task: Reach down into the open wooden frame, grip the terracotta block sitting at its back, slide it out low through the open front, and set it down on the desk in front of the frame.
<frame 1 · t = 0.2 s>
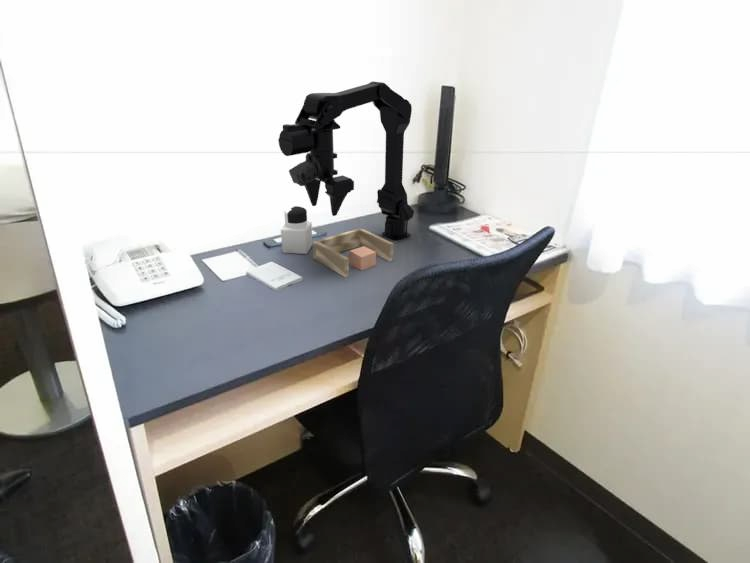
hand: (324, 210, 124), 14 cm above the table, tool pointing down, fingers open, 9 cm apart
terracotta block: (362, 265, 129), on the table
external hard drive: (274, 279, 122), on the table
medicine bottle: (297, 249, 137), on the table
open wooden frame: (362, 264, 129), on the table
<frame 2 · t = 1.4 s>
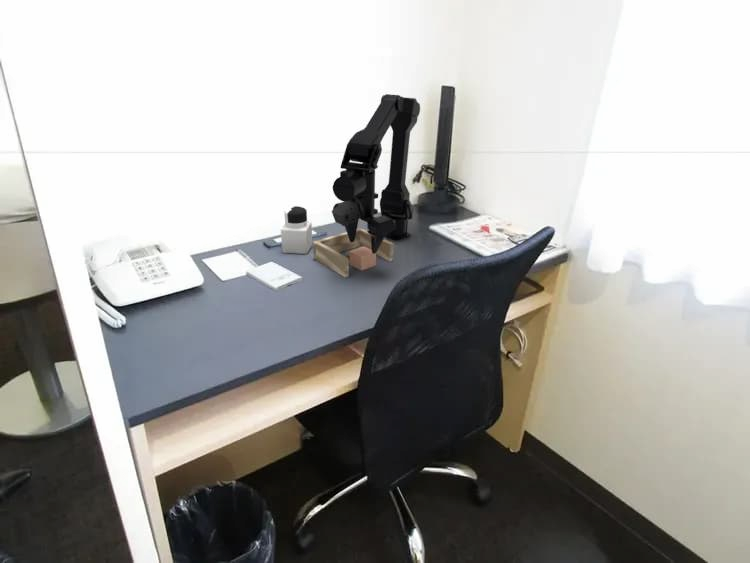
hand: (362, 247, 126), 5 cm above the table, tool pointing down, fingers open, 9 cm apart
nothing on the table moved.
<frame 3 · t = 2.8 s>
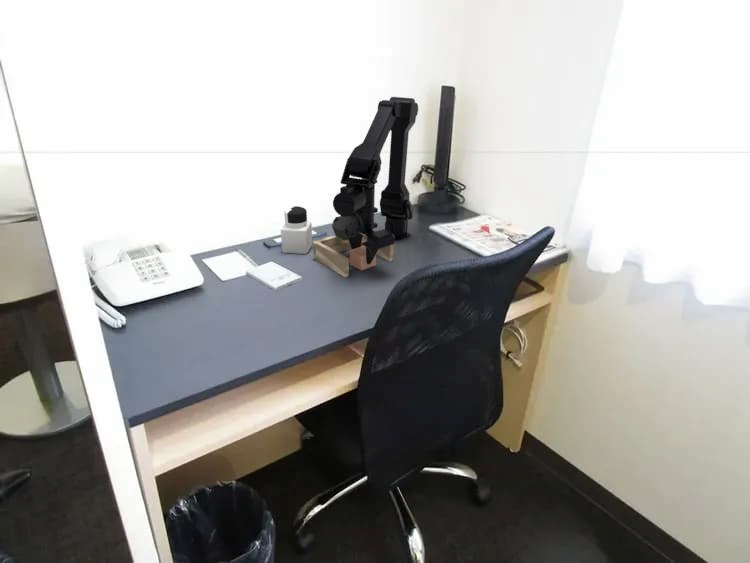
hand: (362, 260, 128), 1 cm above the table, tool pointing down, fingers closed on terracotta block, 5 cm apart
terracotta block: (362, 264, 129), on the table, touching gripper
everything else where it was.
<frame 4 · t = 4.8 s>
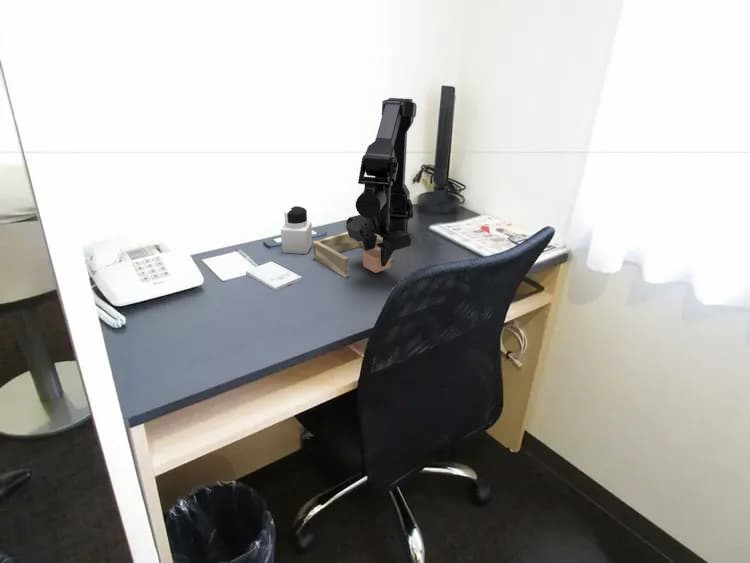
hand: (376, 262, 123), 3 cm above the table, tool pointing down, fingers closed on terracotta block, 5 cm apart
terracotta block: (376, 266, 124), point 2 cm above the table, touching gripper
everything else where it was.
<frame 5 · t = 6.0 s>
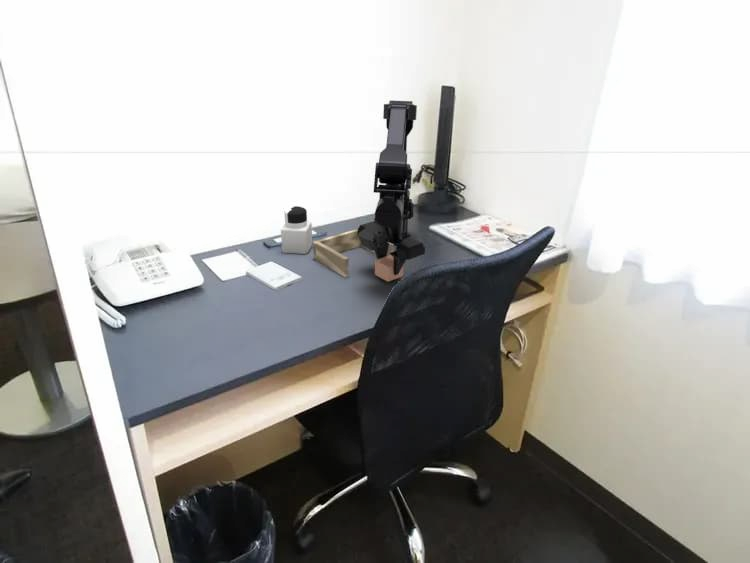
hand: (388, 270, 121), 2 cm above the table, tool pointing down, fingers closed on terracotta block, 5 cm apart
terracotta block: (388, 275, 121), point 1 cm above the table, touching gripper
everything else where it was.
when the fingers open (2 cm above the table, at t = 6.8 s): terracotta block stays where it is, on the table.
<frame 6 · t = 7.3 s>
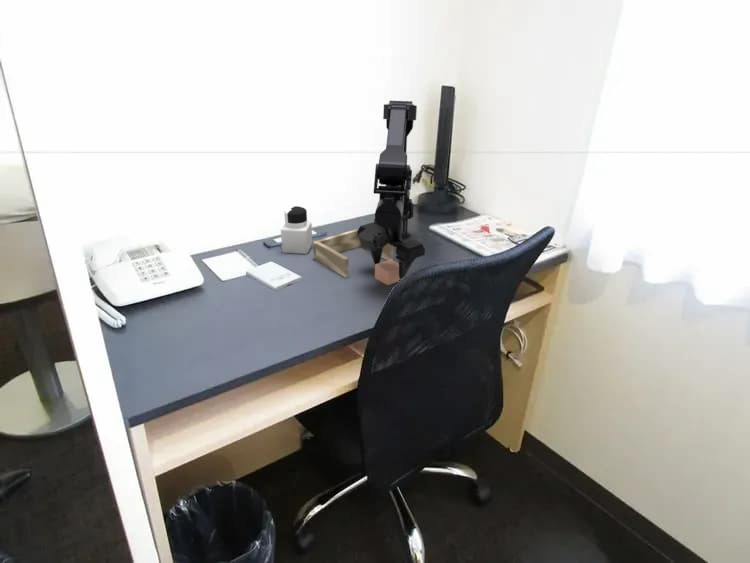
hand: (388, 271, 121), 2 cm above the table, tool pointing down, fingers open, 9 cm apart
terracotta block: (388, 279, 122), on the table
everything else where it was.
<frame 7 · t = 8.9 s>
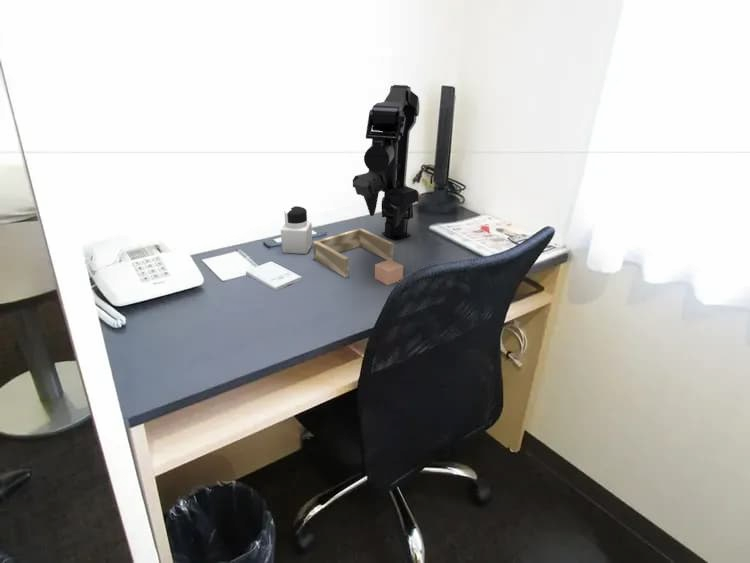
hand: (383, 220, 123), 12 cm above the table, tool pointing down, fingers open, 9 cm apart
nothing on the table moved.
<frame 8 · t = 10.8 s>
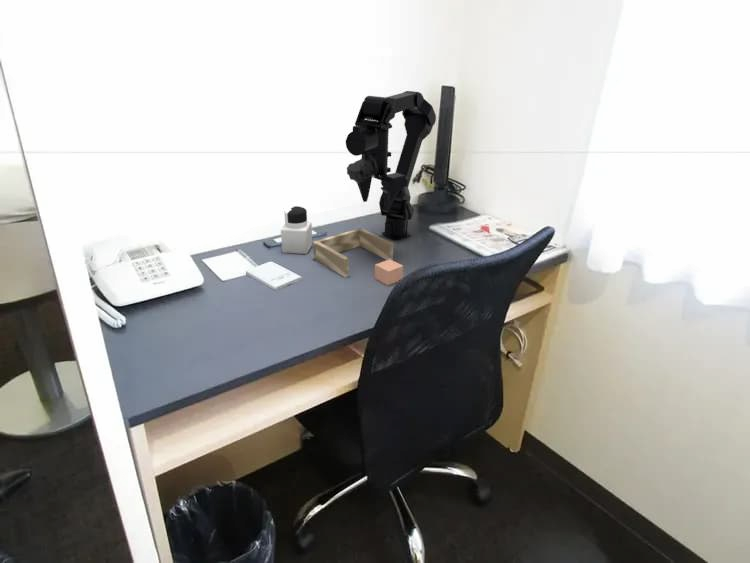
hand: (375, 205, 131), 13 cm above the table, tool pointing down, fingers open, 9 cm apart
nothing on the table moved.
at the end: terracotta block inside the target area (0.0 cm from its centre), on the table; terracotta block tilted 0°; the gripper is holding nothing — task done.
